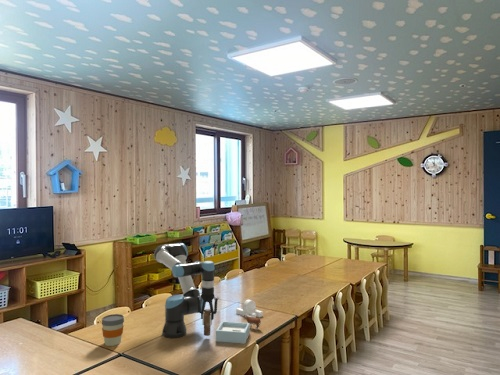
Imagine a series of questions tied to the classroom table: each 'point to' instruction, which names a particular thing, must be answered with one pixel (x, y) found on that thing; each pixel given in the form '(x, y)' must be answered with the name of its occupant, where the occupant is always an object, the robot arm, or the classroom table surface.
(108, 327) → the reusable coffee cup
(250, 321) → the bull figurine
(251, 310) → the white rounded shape
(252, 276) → the classroom table surface
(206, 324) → the walnut peg
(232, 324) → the blue box
